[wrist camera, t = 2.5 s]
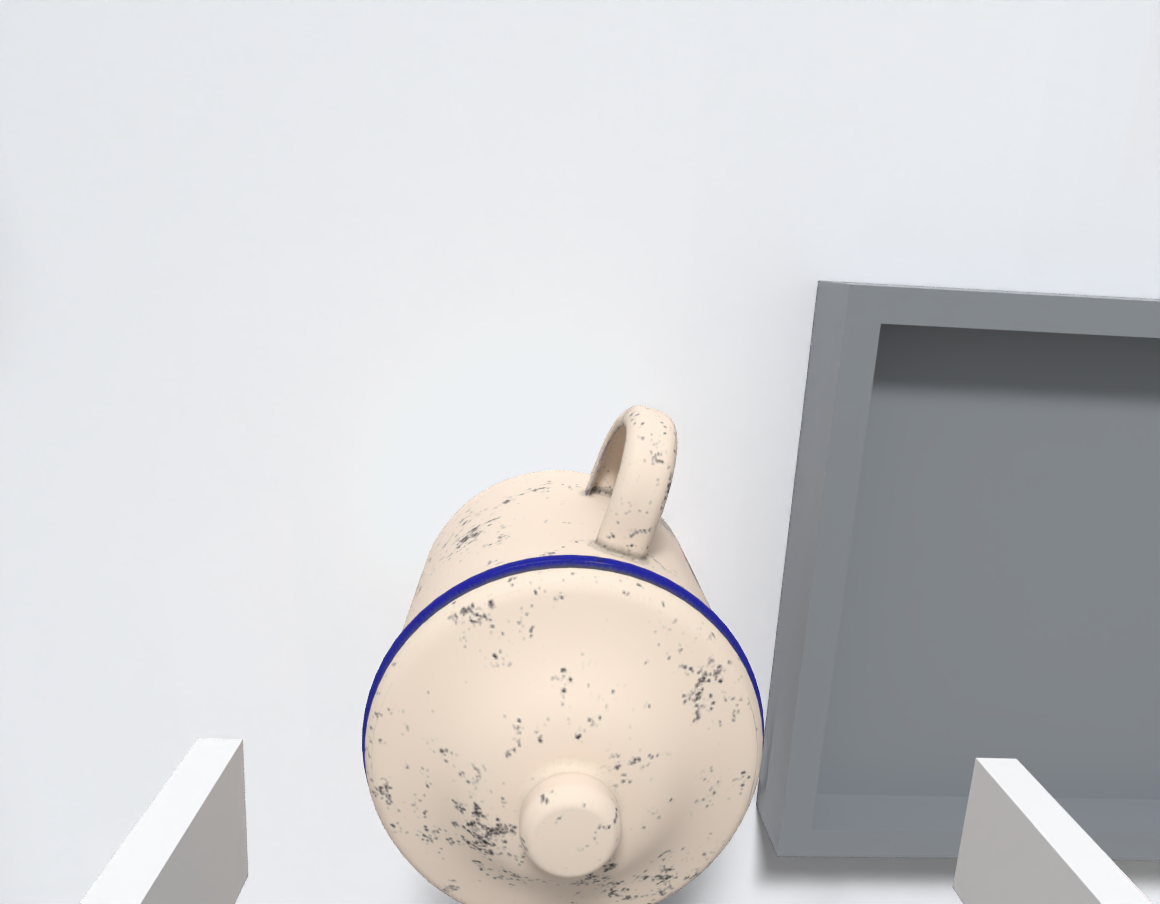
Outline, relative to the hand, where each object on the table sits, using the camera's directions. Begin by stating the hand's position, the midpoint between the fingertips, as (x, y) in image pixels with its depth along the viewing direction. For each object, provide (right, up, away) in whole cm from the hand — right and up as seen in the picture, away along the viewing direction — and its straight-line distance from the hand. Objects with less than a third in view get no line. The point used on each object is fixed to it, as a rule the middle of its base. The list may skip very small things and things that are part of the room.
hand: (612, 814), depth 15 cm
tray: (+15, +3, +13) cm, 20 cm away
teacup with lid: (-1, +3, +12) cm, 13 cm away
